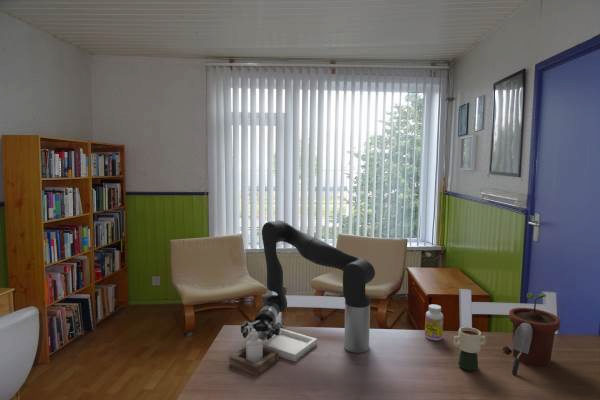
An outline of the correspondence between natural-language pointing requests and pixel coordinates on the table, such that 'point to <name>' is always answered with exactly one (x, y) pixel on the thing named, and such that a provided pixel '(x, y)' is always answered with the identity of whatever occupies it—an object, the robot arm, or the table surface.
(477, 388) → the table surface
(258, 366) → the walnut holder
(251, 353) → the eye dropper bottle
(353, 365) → the table surface
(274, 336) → the tray
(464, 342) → the character mug
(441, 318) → the supplement bottle
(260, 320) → the robot arm
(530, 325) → the potted plant
